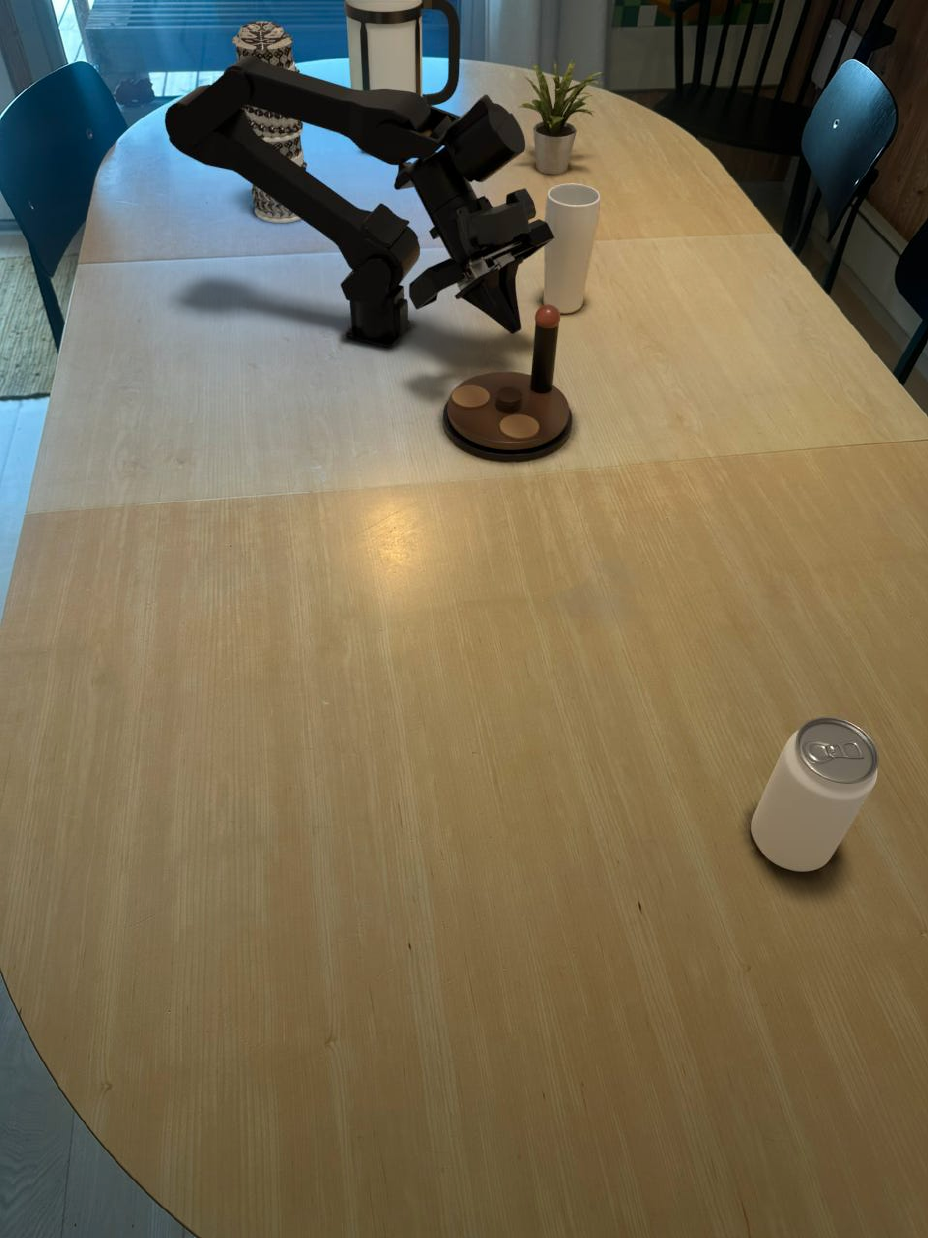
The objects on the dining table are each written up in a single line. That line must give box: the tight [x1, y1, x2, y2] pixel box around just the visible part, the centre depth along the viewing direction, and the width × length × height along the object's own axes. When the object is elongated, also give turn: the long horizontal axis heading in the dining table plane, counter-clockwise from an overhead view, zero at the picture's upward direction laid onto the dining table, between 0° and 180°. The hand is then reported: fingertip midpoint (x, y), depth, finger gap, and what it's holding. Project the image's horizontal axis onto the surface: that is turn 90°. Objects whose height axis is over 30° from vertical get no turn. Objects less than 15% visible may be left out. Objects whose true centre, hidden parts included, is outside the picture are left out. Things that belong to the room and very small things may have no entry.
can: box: [750, 716, 880, 872], centre depth 72 cm, size 6×6×12 cm
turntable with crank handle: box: [447, 304, 570, 450], centre depth 108 cm, size 14×14×11 cm
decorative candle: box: [231, 21, 308, 224], centre depth 139 cm, size 9×9×25 cm
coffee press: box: [343, 0, 461, 107], centre depth 158 cm, size 17×16×30 cm
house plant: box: [517, 58, 605, 176], centre depth 154 cm, size 14×14×16 cm
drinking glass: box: [542, 182, 601, 314], centre depth 126 cm, size 7×7×15 cm
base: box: [442, 400, 574, 463], centre depth 112 cm, size 15×15×1 cm
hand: (516, 331), depth 112 cm, fingers closed
